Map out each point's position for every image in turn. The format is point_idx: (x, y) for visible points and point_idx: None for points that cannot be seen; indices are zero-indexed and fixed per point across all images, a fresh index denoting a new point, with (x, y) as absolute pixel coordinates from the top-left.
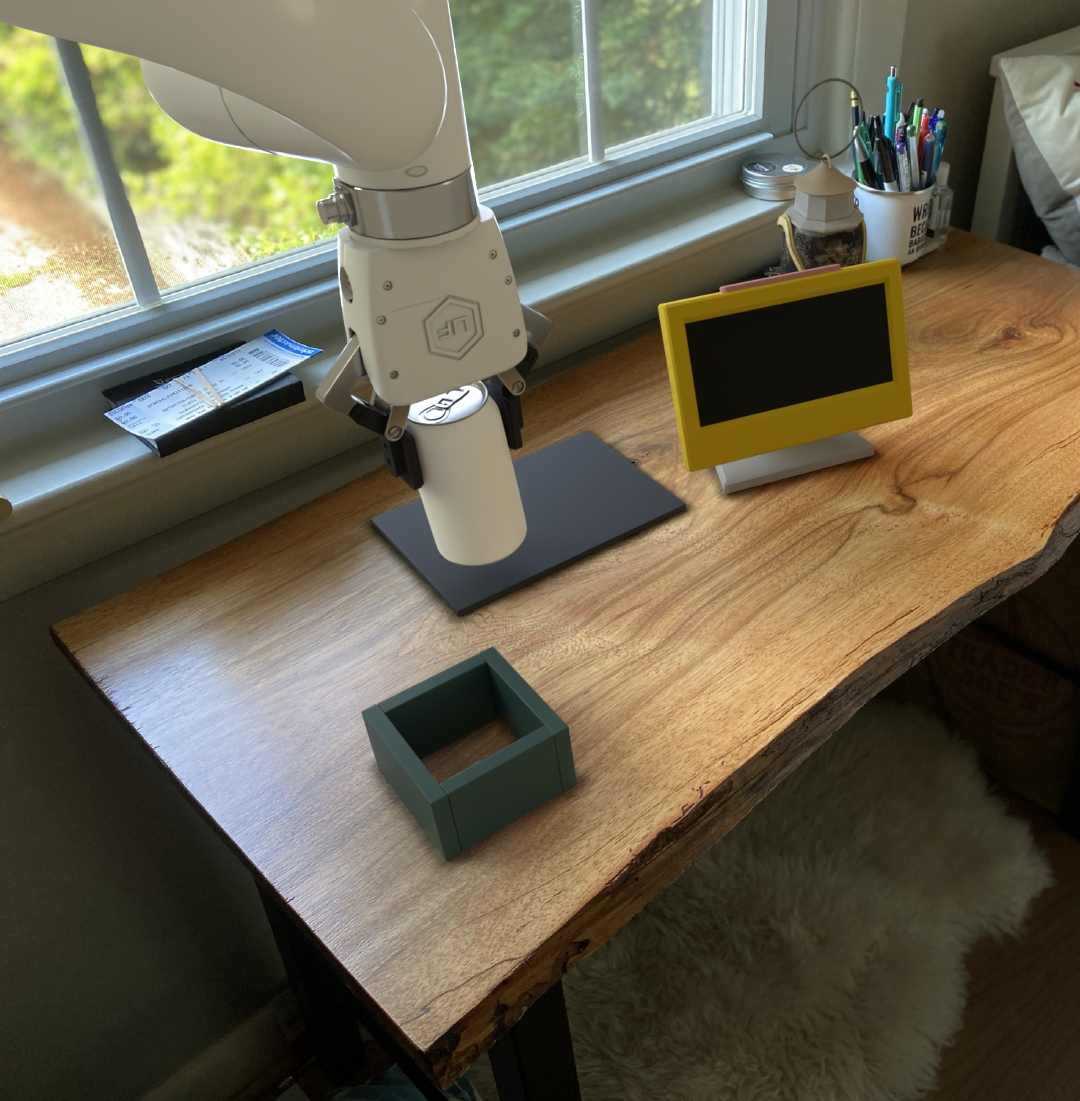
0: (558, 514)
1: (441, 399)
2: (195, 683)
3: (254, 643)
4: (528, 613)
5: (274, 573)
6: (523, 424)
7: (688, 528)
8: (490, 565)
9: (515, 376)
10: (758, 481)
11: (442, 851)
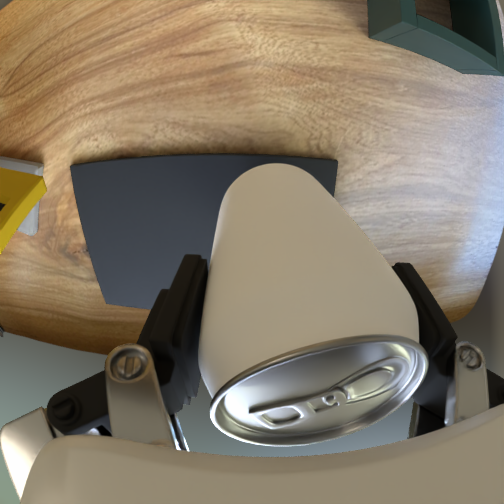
0: (170, 225)
1: (321, 411)
2: (477, 240)
3: (444, 249)
4: (279, 114)
5: None
6: (160, 291)
7: (83, 137)
8: None
9: (119, 392)
10: (22, 161)
11: None
